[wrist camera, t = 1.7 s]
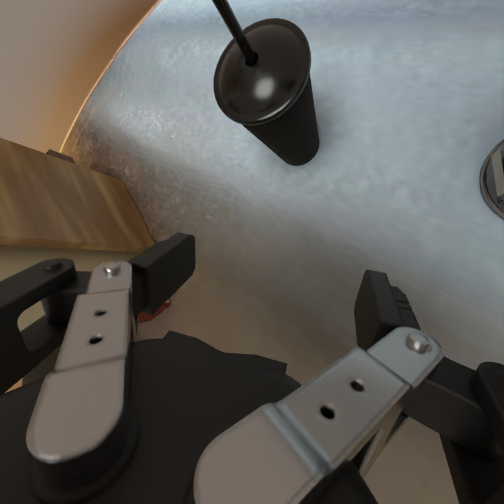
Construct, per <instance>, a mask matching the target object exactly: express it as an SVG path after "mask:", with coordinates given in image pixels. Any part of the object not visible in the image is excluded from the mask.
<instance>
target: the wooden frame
mask: <svg viewBox="0 0 504 504" xmlns="http://www.w3.org/2000/svg"><path fill="white" fill-rule="evenodd" d="M154 244H156V242H155V241H154V239H153V237H152V235H151V233H150V231H149V230H148V228H147V226H146V224H145V222H144V220H143V219H142V217H141V215H140V213H139V211H138V210H137V208H136V206H135V204H134V202H133V200H132V199H131V197H130V195H129V193H128V191H127V189H126V188H125V186H124V184H123V182H122V180H120V179H117V178H114V177H111V176H108V175H106V174H103V173H100V172H97V171H94V170H91V169H88V168H85V167H83V166H80V165H77V164H75V162H74V160H73V158H72V157H69V156H66V155H63V154H61V153H58V152H55V151H53V150H50V149H49V151H48V152H47V153H46V154H45V153H42V152H40V151H37V150H34V149H31V148H28V147H25V146H22V145H19V144H17V143H14V142H11V141H8V140H5V139H2V138H0V245H13V246H32V247H51V248H69V249H88V250H107V251H126V252H144V251H145V250H146V249H148V248H150V247H151V246H153V245H154Z"/></svg>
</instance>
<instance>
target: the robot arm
mask: <svg viewBox="0 0 504 504" xmlns="http://www.w3.org/2000/svg"><path fill="white" fill-rule="evenodd" d="M480 188H481V192H482V195H483V197H484V199H485V201H486V203H487V204H488V205H489V207H490V208H491V209H492V210H493V211H494V212H495V213H496V214H498V215H499V216H500V217H502V218H503V219H504V140H503V141H502V142H500V143H499V144H498V145H497V146H496V147H495V148H494V149H493V150H492V151H491V153H490V154H489V155H488V157H487V158H486V160H485V162H484V164H483V167H482V170H481V174H480ZM194 269H195V237H194V236H193V235H190V234H184V233H179V232H178V233H176V234H175V235H173V236H172V237H170V238H169V239H167V240H164V241H161V242H158V243H156V244H154V245H153V246H151V247H150V248H148V249H146V250H145V251H144V252H142V253H140V254H138V255H137V256H135V257H134V258H132V259H130V260H129V261H127V262H125V261H109V262H105V263H102V264H99V265H97V266H96V267H95V268H94V269H93V270H92V271H76V268H75V264H74V261H73V260H71V259H67V258H55V259H49V260H45V261H42V262H39V263H37V264H35V265H33V266H31V267H29V268H27V269H25V270H23V271H21V272H19V273H16V274H14V275H12V276H10V277H8V278H6V279H4V280H2V281H0V504H378V502H377V501H376V499H375V497H374V496H373V494H372V493H371V491H370V489H369V488H368V486H367V484H366V483H365V481H364V479H363V478H364V477H365V476H366V474H367V473H368V471H369V470H370V468H371V467H372V465H373V464H374V462H375V461H376V459H377V458H378V456H379V455H380V454H381V452H382V451H383V450H384V448H385V447H386V446H387V445H388V444H389V442H390V441H391V440H392V439H393V437H394V436H395V435H396V434H397V432H398V431H399V430H400V429H401V428H402V426H403V425H404V424H405V423H406V421H407V420H408V419H409V418H410V417H411V418H413V419H415V420H416V421H418V422H420V423H422V424H423V425H425V426H427V427H429V428H430V429H432V430H434V431H436V432H438V433H439V434H440V438H441V441H442V445H443V448H444V452H445V455H446V459H447V462H448V466H449V469H450V473H451V476H452V480H453V483H454V487H455V490H456V494H457V497H458V501H459V504H504V365H502V364H499V363H495V362H483V363H481V364H480V365H479V366H478V368H477V370H476V371H475V370H472V369H470V368H468V367H466V366H463V365H461V364H459V363H457V362H454V361H452V360H450V359H448V358H446V357H444V351H443V348H442V347H441V345H440V344H439V343H438V342H437V341H436V340H435V339H434V338H432V337H431V336H430V335H428V334H426V333H424V332H422V331H421V329H420V327H419V324H418V322H417V320H416V317H415V315H414V313H413V312H412V308H411V306H410V305H409V302H408V299H407V297H406V295H405V294H404V293H403V292H402V291H401V290H400V289H399V288H398V287H395V286H390V283H389V280H388V278H387V275H386V273H382V272H377V271H372V270H366V271H365V273H364V276H363V279H362V282H361V286H360V289H359V292H358V295H357V298H356V302H355V308H354V316H355V325H356V334H357V343H358V347H355V348H354V349H352V350H351V351H350V352H348V353H347V354H345V355H344V356H343V357H341V358H340V359H338V360H337V361H336V362H334V363H333V364H331V365H330V366H329V367H327V368H326V369H324V370H323V371H322V372H320V373H319V374H317V375H316V376H315V377H313V378H312V379H310V380H309V381H308V382H306V383H305V384H303V385H301V384H300V383H299V382H297V381H296V380H294V379H293V378H292V377H290V376H288V375H286V374H285V372H286V367H287V364H286V363H283V362H279V361H276V360H272V359H269V358H265V357H262V356H258V355H250V354H236V353H224V352H221V351H219V350H217V349H215V348H213V347H212V346H210V345H208V344H206V343H204V342H203V341H201V340H199V339H197V338H195V337H191V336H187V335H184V334H180V333H177V332H173V331H169V332H168V333H167V334H166V335H165V337H164V338H163V339H147V340H142V341H139V318H138V315H139V314H140V313H141V312H142V313H145V314H149V315H153V314H154V313H155V312H156V311H157V310H158V309H159V308H160V307H161V306H162V305H163V304H164V303H165V302H166V301H167V300H168V299H169V298H170V297H171V296H172V295H173V294H174V293H175V292H176V291H177V290H178V289H179V288H180V287H181V286H182V285H183V284H184V283H185V282H186V281H187V280H188V279H189V278H190V277H191V276H192V274H193V272H194ZM39 301H41V304H42V307H43V310H44V313H45V315H44V316H42V317H41V318H39V319H38V320H36V321H35V322H34V323H32V324H31V325H29V326H28V327H26V328H25V329H23V330H22V331H20V330H19V328H18V325H17V322H18V318H19V316H20V315H21V314H22V312H24V311H25V310H26V309H28V308H30V307H31V306H33V305H34V304H36V303H38V302H39ZM61 344H62V346H61V349H60V353H59V356H58V359H57V362H56V365H55V368H54V370H53V371H52V372H50V373H48V374H47V376H46V377H44V378H42V379H39V380H37V381H34V382H32V383H29V384H27V385H24V386H22V387H19V388H17V389H14V390H12V391H9V392H7V393H5V392H6V391H7V390H8V389H9V388H11V387H12V386H13V385H14V384H15V383H17V382H18V381H19V380H20V379H21V378H22V377H24V376H25V375H26V374H27V373H28V372H30V371H31V370H32V369H33V368H34V367H35V366H37V365H38V364H39V363H40V362H41V361H42V360H44V359H45V358H46V357H47V356H48V355H50V354H51V353H52V352H53V351H54V350H55V349H57V348H58V347H59V346H60V345H61Z"/></svg>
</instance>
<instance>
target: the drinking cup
mask: <svg viewBox="0 0 504 504" xmlns="http://www.w3.org/2000/svg"><path fill="white" fill-rule="evenodd" d="M212 1H213V3H214V5H215V6H216V8H217V10H218V12H219V13H220V15H221V17H222V19H223V20H224V22H225V24H226V26H227V27H228V29H229V31H230V32H231V34H232V36H233V39H232V40H231V42H230V43H229V44H228V45H227V47H226V48H225V50H224V51H223V53H222V55H221V57H220V59H219V61H218V64H217V67H216V70H215V75H214V94H215V98H216V101H217V104H218V106H219V107H220V109H221V110H222V112H223V113H224V114H225V115H226V116H227V117H228V118H230V119H231V120H233V121H235V122H237V123H240V124H242V125H243V126H244V127H245V128H246V129H248V130H249V131H250V132H251V133H252V134H253V135H255V136H256V137H257V138H258V139H259V140H260V141H262V142H263V143H264V144H265V145H266V146H267V147H269V148H270V149H271V150H272V151H273V152H274V153H276V154H277V155H278V156H279V157H280V158H281V159H282V160H284V161H285V162H286V163H288V164H290V165H293V166H299V165H303V164H305V163H307V162H309V161H310V160H311V159H312V158H313V157H314V156H315V154H316V153H317V151H318V147H319V137H318V130H317V122H316V115H315V108H314V101H313V94H312V86H311V79H310V68H311V52H310V47H309V43H308V40H307V38H306V36H305V34H304V33H303V32H302V30H301V29H300V28H299V27H298V26H296V25H295V24H294V23H292V22H290V21H288V20H284V19H279V18H272V19H265V20H261V21H258V22H256V23H254V24H252V25H250V26H248V27H246V28H245V29H244V30H242V28H241V26H240V24H239V22H238V20H237V19H236V17H235V15H234V13H233V11H232V9H231V7H230V5H229V3H228V1H227V0H212Z"/></svg>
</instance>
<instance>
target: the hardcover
mask: <svg viewBox="0 0 504 504" xmlns="http://www.w3.org/2000/svg"><path fill="white" fill-rule="evenodd" d="M140 253H142V252H126V251H107V250H88V249H69V248H51V247H32V246H13V245H0V281H2V280H4V279H6V278H8V277H10V276H12V275H14V274H16V273H19V272H21V271H23V270H25V269H27V268H29V267H31V266H33V265H35V264H37V263H39V262H42V261H45V260H49V259H55V258H67V259H71V260H73V261H74V264H75V268H76V271H92V270H93V269H94V268H95V267H96V266H97V265H99V264H102V263H105V262H109V261H125V262H127V261H129V260H130V259H132V258H134V257H135V256H137V255H138V254H140ZM170 304H171V303H170V301H169V299H168V300H167V301H166V302H165V303H164V304H163V305H162V306H161V307H160V308H159V309H158V310H157V311H156V312H155V313H154V314H153V315H149V314H145V313H142V312H141V313H140V314H139V315H138V318H139V323H143V322H147V321H150V320H151V319H153V318H154V317H155V316H156V315H158V314H159V313H160V312H161V311H163V310H164V309H165V308H167V307H168V306H169V305H170ZM44 315H45V313H44V310H43V307H42V304H41V301H39V302H38V303H36V304H34V305H33V306H31V307H30V308H28V309H26V310H25V311H24V312H22V314H21V315H20V316H19V318H18V322H17V325H18V328H19V330H20V331H22V330H23V329H25V328H26V327H28V326H29V325H31V324H32V323H34V322H35V321H36V320H38V319H39V318H41V317H42V316H44Z"/></svg>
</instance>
